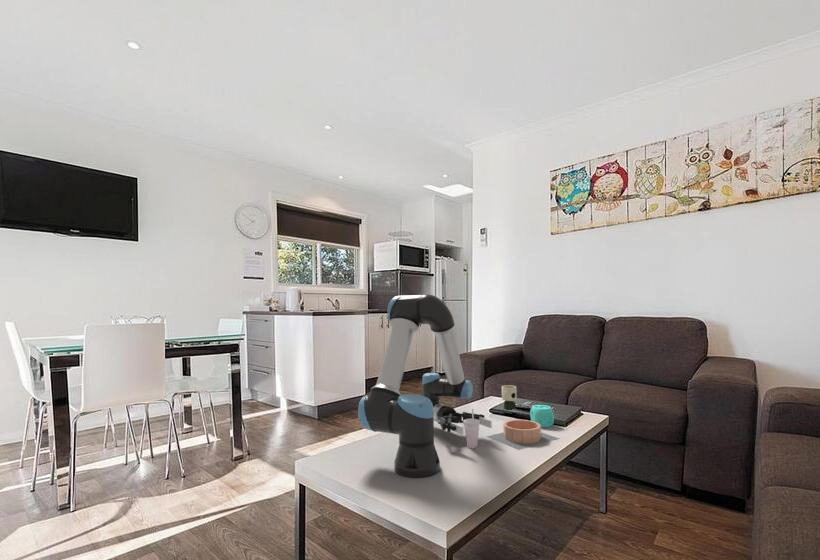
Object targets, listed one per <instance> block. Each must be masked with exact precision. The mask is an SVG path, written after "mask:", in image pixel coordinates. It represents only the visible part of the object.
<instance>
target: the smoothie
mask: <svg viewBox="0 0 820 560" xmlns="http://www.w3.org/2000/svg"><path fill="white" fill-rule="evenodd" d="M471 413H472V419H465V420H463V419H462V421H463V423H462V424H463V425H464V426H463V428H464V433H465V439H466V440H465V441H466V446H467V448H468V449H477V447H478V444H479V431H480V425H481V424H480V420H478V419H474V414H475V413H474V409H473V408H471Z"/></svg>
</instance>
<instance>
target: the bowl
mask: <svg viewBox="0 0 820 560" xmlns="http://www.w3.org/2000/svg"><path fill="white" fill-rule="evenodd" d="M502 428H503V429H502V430H503V432H504V438H505V439H506V440H508V441H511V442H515V443H523V444H528V443H536V442H539V441H540V440H541V432H542V427H541V425H540V424H539V423H537V422H534V421H531V420H528V419H511V420H506V421H504V422H503V427H502Z"/></svg>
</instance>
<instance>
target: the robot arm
mask: <svg viewBox="0 0 820 560" xmlns="http://www.w3.org/2000/svg"><path fill="white" fill-rule="evenodd" d="M386 310H387V311H386V312H387V314H386V316H387V320H388V322H389V326H391V331H390V335H389V338H388V342H387V344H386V349H385V351H384V355H383V360H382V363H381V367H380V370H379V373H378V377H377V380H376V383H375V385H374V386H372V387H371V388H370V390H369V393H368V394H366V395H363V396H362V397H361V399H360V400H359V403H358V408H357V409H358V410H357V415H358V420H359V423H360V424H361V426H362V428H364V430H368V431H372V432H375V433H376V432H378V433H386V434H393V435H398V442H399V443H398V448H397V451H396V456H395V459H394V462H393V463H394V468H393V469H394V472H395V473H397V474H398V473H399V474H398V475H400V476H402V475H403V477H408V478H425V477H426V478H427V477H430V476H433V475H436V474H437V473H438V472H439V471H440V469H441V462H440V458H439V454H438V451H437V449H436V446H435V433H434V432H435V430H434V429H435V428H434V427H435V426H434V423H435V422H437V424H439V426H440V428H441V430H442V431H446V429H447V431H446V432H448V433H450V432H451V431H453V432H455V433H456V434H460V435H464V426H462V425H460V424H463V420H465V419H472V412H466V411H462V413H460V412H457V411H456V410H455V408H454V407H451V406H449V405H447V404H443V403H441V397H444V398H454V399H455V398H456V399H460V400H461V399H464V400H465V399H470V398H472V395H473V390H474V387H473V383H472V381H471V380H469V379H468V380H467V379H466V378H465V374H464V371H463V366H462V362H461V358H460V354H459V348H458V345H457V340H456V336H455V335H456V334H455V332H454V327H455V319H454V317H453V314H452V313H451V311H450V309H449V307H448V306H447V304H446V303H445V302H444V301H443V300H442V299H440V298H439V297H437V296H436V295H433V294H426V293H425V294H412V295H411V294H410V295H409V294H408V295H407V294H402V295H395V296H394V297H393V298H392V299H391V300H390V301H389V303H388V305H387V309H386ZM420 325H428V326H429V327H430V331H431V332H433V333H434V336H435V340H436V343H437V348H438V351H439V356H440V360H441V364H442V367H443V371H444V374H445V377H446V378H441V377H440V374H439V373H437V372H427V373H424V374H423V375H422V381H421V382H422V383H421V384H422V395H421V394H416V393H413V394H412V393H411V394H410V393H406V394H405V393H404V394H401V392H400V388H401V384H402V380H403V376H404V373H405V368H406V365H407V361H408V356H409V352H410V349H411V344H412V341H413V336H414V334H415V333H417V332H418V331H419V328H420ZM474 419H478V420H480V424H479V425H481V426H483V427H486V428H489V429H492V428H493V427H492V425H493V423H492V419H488V418H485V415H484V414H480V413H479V414H478V413H474ZM459 423H460V424H459Z"/></svg>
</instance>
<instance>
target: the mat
mask: <svg viewBox="0 0 820 560" xmlns="http://www.w3.org/2000/svg"><path fill="white" fill-rule="evenodd" d="M485 437H486V438H488V439H491V440H494V441H496V442H498V443H500V444H504V445H506V446H508V447H510V448H513V449H516V450H517V451H520V450H523V449H526V448H527V449H528V448H531V447H535V446H538V445H543V444H544V443H545V444H546V443H549V442H553V441H557V440H560V438H559V437H556V436H553V435H550V434H547V433H544V432H542V431H541V440H540V441H539V442H536V443H528V444H523V443H515V442H511V441H508V440H506V439H505V438H504V431H503V432H499V433H495V434H491V435H486V436H485Z"/></svg>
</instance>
